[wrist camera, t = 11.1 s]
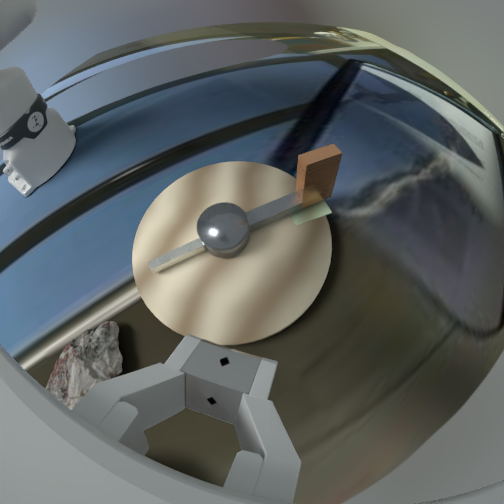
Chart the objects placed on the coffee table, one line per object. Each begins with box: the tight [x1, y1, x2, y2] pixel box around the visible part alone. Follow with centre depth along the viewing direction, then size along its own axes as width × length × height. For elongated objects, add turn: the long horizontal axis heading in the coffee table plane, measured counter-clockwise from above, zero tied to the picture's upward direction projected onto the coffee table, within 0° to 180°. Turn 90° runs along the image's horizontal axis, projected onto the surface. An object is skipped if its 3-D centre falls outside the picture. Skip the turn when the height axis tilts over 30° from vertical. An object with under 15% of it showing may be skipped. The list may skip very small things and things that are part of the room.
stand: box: [132, 161, 332, 346], centre depth 29 cm, size 22×22×2 cm
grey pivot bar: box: [148, 144, 342, 273], centre depth 25 cm, size 21×5×7 cm, turn 115°
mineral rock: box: [45, 321, 123, 410], centre depth 22 cm, size 15×8×4 cm, turn 131°
